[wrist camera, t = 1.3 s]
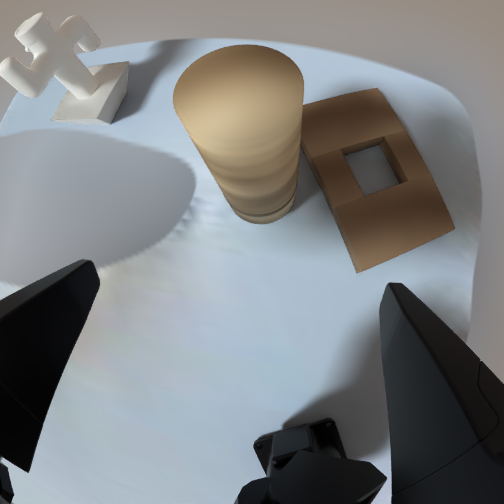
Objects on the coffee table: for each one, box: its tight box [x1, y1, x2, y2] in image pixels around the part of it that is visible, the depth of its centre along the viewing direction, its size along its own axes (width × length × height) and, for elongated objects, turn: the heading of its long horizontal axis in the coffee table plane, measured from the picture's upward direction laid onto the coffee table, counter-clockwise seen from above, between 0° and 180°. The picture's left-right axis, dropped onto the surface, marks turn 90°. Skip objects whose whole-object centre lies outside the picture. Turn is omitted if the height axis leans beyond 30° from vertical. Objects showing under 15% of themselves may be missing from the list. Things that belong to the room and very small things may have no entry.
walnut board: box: [300, 88, 455, 273], centre depth 21 cm, size 14×9×2 cm, turn 20°
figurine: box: [0, 12, 129, 125], centre depth 19 cm, size 7×9×15 cm
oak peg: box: [173, 45, 304, 224], centre depth 16 cm, size 5×5×13 cm
